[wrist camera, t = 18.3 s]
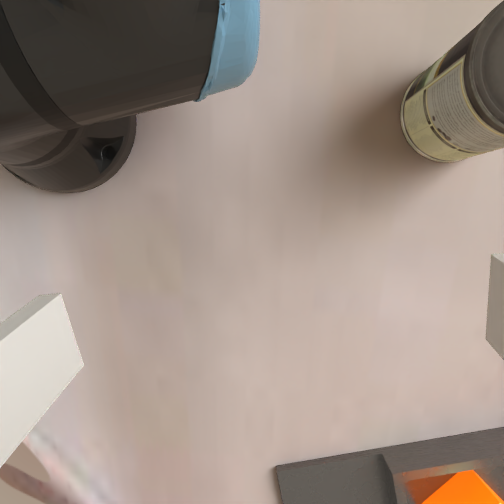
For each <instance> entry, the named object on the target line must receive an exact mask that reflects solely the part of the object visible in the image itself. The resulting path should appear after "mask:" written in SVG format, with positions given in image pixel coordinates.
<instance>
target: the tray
mask: <svg viewBox="0 0 504 504" xmlns="http://www.w3.org/2000/svg"><path fill="white" fill-rule="evenodd" d="M276 468H277V475H278V481H279V486H280V491H281V496H282V501H283V504H422V503H423V502H424V501H425V500H426V499H428V498H429V497H430V496H431V495H432V494H433V493H435V492H436V491H437V490H438V489H439V488H440V487H442V486H443V485H444V484H445V483H446V482H447V481H449V480H450V479H451V478H452V477H453V476H454V475H456V474H457V473H458V472H463V471H469V470H473V471H474V472H475V473H476V474H477V475H478V476H479V477H480V478H481V479H482V480H483V481H484V482H485V483H486V484H487V485H488V486H489V487H490V488H491V489H492V490H493V491H494V492H495V493H496V494H497V495H498V496H499V497H500V498H501V499H502V501H503V502H504V427H501V428H495V429H490V430H484V431H478V432H472V433H466V434H460V435H454V436H449V437H443V438H437V439H431V440H425V441H419V442H413V443H408V444H402V445H396V446H390V447H384V448H378V449H373V450H367V451H361V452H355V453H349V454H343V455H337V456H332V457H326V458H320V459H314V460H308V461H302V462H296V463H291V464H285V465H279V466H276Z"/></svg>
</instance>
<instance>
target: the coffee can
mask: <svg viewBox="0 0 504 504" xmlns="http://www.w3.org/2000/svg"><path fill="white" fill-rule="evenodd" d="M400 120H401V126H402V130H403V133H404V135H405V137H406V139H407V141H408V143H409V144H410V145H411V146H412V147H413V149H414V150H415V151H416V152H418V153H419V154H421V155H422V156H424V157H426V158H428V159H430V160H434V161H437V162H447V163H448V162H456V161H460V160H464V159H466V158H468V157H472V156H476V155H479V154H483V153H486V152H490V151H494V150H498V149H501V148H504V1H503V2H501V3H500V4H499V5H498V6H496V7H495V8H494V9H493V10H492V11H491V12H490V13H489V14H488V15H487V16H486V17H485V18H484V20H483V21H482V22H481V23H479V24H478V25H477V26H476V27H475V28H474V29H473V30H472V31H470V32H469V33H468V34H467V35H466V36H465V37H464V38H463V39H461V40H460V41H459V42H458V43H457V44H456V45H455V46H453V47H452V48H451V49H450V50H449V51H448V52H447V53H445V54H444V55H443V56H442V57H441V58H440V59H439V60H437V61H436V62H435V63H434V64H433V65H432V66H431V67H429V68H428V69H427V70H426V71H424V72H423V73H421V74H420V75H419V76H418V77H417V78H416V79H415V80H414V81H413V82H412V83H411V85H410V86H409V88H408V89H407V91H406V93H405V95H404V98H403V101H402V104H401V110H400Z"/></svg>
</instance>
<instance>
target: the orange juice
mask: <svg viewBox="0 0 504 504" xmlns="http://www.w3.org/2000/svg"><path fill="white" fill-rule="evenodd" d="M422 504H504V502H503V501H502V499H501V498H500V497H499V496H498V495H497V494H496V493H495V492H494V491H493V490H492V489H491V488H490V487H489V486H488V485H487V484H486V483H485V482H484V481H483V480H482V479H481V478H480V477H479V476H478V475H477V474H476V473H475V472H474V471H473V470H469V471H463V472H458V473H457V474H456V475H454V476H453V477H452V478H451V479H450V480H449V481H447V482H446V483H445V484H444V485H443V486H442V487H440V488H439V489H438V490H437V491H436V492H435V493H433V494H432V495H431V496H430V497H429V498H428V499H426V500H425V501H424V502H423V503H422Z"/></svg>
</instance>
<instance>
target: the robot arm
mask: <svg viewBox="0 0 504 504" xmlns="http://www.w3.org/2000/svg"><path fill="white" fill-rule="evenodd" d="M259 35H260V0H0V164H2V165H3V166H4V167H5V168H6V169H7V170H8V171H9V172H10V173H12V174H13V175H14V176H16V177H17V178H18V179H20V180H22V181H23V182H25V183H27V184H29V185H32V186H34V187H37V188H40V189H44V190H49V191H56V192H65V193H73V192H81V191H86V190H89V189H92V188H95V187H97V186H99V185H101V184H103V183H104V182H106V181H107V180H109V179H110V178H111V177H112V176H114V175H115V174H116V173H117V172H118V170H119V169H120V168H121V167H122V165H123V164H124V163H125V161H126V159H127V158H128V156H129V154H130V151H131V149H132V146H133V143H134V139H135V133H136V114H139V113H143V112H147V111H151V110H155V109H159V108H163V107H168V106H172V105H176V104H180V103H184V102H188V101H192V100H193V101H195V102H199V101H201V100H202V99H205V98H206V97H207V96H208V95H211V94H215V93H218V92H221V91H225V90H228V89H231V88H235V87H237V86H239V85H241V84H242V83H243V82H244V81H245V80H246V79H247V78H248V77H249V76H250V75H251V73H252V71H253V69H254V67H255V64H256V60H257V55H258V48H259ZM486 340H487V341H488V342H489V344H490V345H491V346H492V347H493V348H494V349H495V350H496V352H497V353H498V354H499V355H500V356H501V357H502V358H503V360H504V253H500V254H491V264H490V279H489V294H488V309H487V324H486ZM83 366H84V364H83V361H82V358H81V354H80V351H79V348H78V345H77V342H76V339H75V336H74V333H73V330H72V326H71V323H70V320H69V317H68V314H67V311H66V308H65V305H64V302H63V298H62V295H61V293H59V294H48V295H39V296H38V297H36V298H35V299H33V300H32V301H31V302H29V303H28V304H27V305H25V306H24V307H23V308H21V309H20V310H18V311H17V312H16V313H14V314H13V315H12V316H10V317H9V318H7V319H6V320H5V321H3V322H2V323H1V324H0V468H1V466H2V465H3V464H4V463H5V462H6V460H7V459H8V458H9V457H10V455H11V454H12V453H13V452H14V450H15V449H16V448H17V446H19V444H20V443H21V442H22V441H23V439H24V438H25V437H26V436H27V434H28V433H29V432H30V431H31V430H32V428H33V427H34V426H35V425H36V423H37V422H38V421H39V420H40V419H41V417H42V416H43V415H44V414H45V412H46V411H47V410H48V409H49V407H50V406H51V405H52V404H53V403H54V401H55V400H56V399H57V398H58V396H59V395H60V394H61V393H62V391H63V390H64V389H65V388H66V387H67V385H68V384H69V383H70V382H71V380H72V379H73V378H74V377H75V375H76V374H77V373H78V372H79V371H80V369H81V368H82V367H83Z"/></svg>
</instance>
